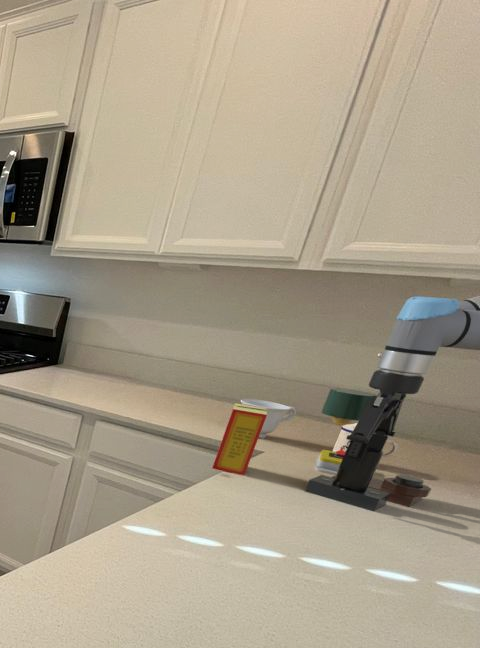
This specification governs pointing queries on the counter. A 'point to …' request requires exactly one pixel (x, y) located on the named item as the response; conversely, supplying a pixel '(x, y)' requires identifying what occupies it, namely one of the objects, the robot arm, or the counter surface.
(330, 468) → the emergency button
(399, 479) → the lamp button
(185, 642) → the counter surface
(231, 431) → the baking soda box
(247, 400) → the teacup
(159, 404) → the counter surface
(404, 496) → the lamp base
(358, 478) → the black pen holder
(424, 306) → the robot arm
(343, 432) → the teacup with lid
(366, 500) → the dimmer panel
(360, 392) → the desk lamp
